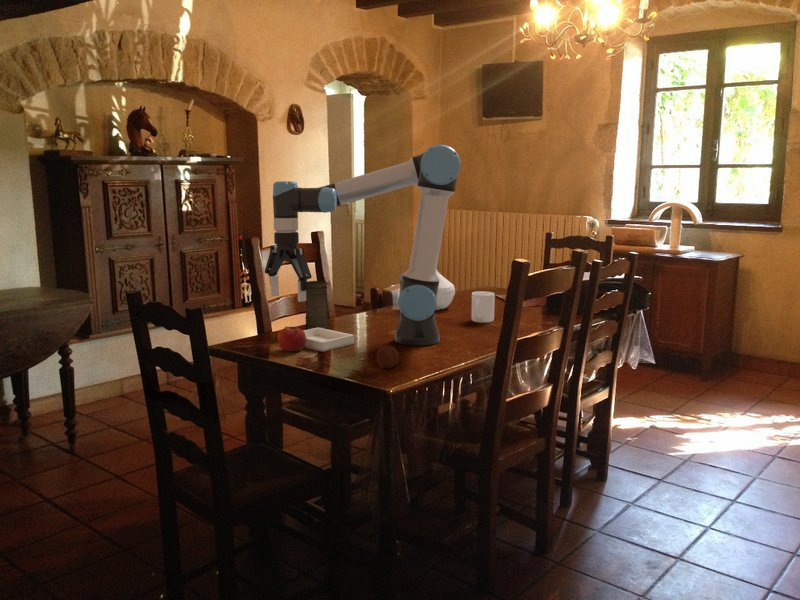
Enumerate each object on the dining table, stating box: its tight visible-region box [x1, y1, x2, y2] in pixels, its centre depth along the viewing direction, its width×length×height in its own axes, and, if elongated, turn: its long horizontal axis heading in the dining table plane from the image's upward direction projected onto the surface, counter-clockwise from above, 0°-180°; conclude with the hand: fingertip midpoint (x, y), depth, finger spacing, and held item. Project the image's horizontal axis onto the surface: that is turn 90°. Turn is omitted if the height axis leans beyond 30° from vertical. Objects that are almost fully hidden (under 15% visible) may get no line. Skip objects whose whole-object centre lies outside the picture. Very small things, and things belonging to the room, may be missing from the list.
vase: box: [435, 269, 456, 311], centre depth 294 cm, size 18×18×19 cm
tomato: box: [277, 326, 306, 352], centre depth 224 cm, size 9×9×8 cm
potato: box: [376, 344, 400, 369], centre depth 206 cm, size 7×9×6 cm
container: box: [304, 280, 331, 330], centre depth 250 cm, size 9×9×18 cm
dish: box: [303, 327, 355, 352], centre depth 234 cm, size 18×14×3 cm
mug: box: [471, 290, 496, 324], centre depth 268 cm, size 9×12×11 cm
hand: (288, 298), depth 223 cm, fingers open, 13 cm apart
